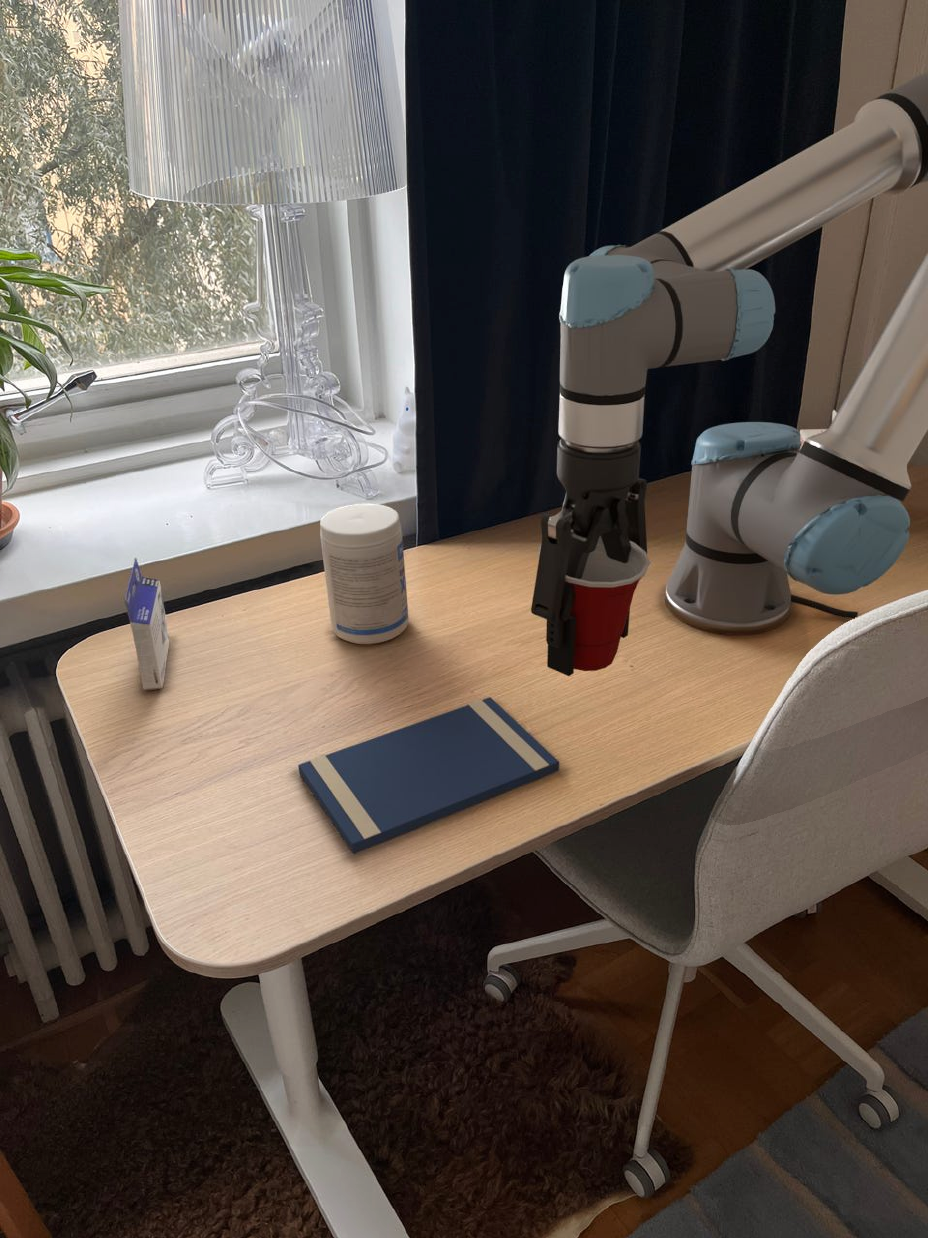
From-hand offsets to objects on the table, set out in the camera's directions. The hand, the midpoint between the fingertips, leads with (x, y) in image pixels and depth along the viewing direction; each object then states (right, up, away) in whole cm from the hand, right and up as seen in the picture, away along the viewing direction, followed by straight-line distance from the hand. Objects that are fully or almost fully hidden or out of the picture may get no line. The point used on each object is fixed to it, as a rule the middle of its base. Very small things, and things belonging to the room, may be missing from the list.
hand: (588, 650), depth 99 cm
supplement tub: (-24, +2, +21) cm, 32 cm away
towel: (-16, -12, -4) cm, 21 cm away
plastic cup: (0, -1, +1) cm, 1 cm away
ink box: (-49, -2, +15) cm, 51 cm away
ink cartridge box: (+40, +19, +47) cm, 64 cm away
